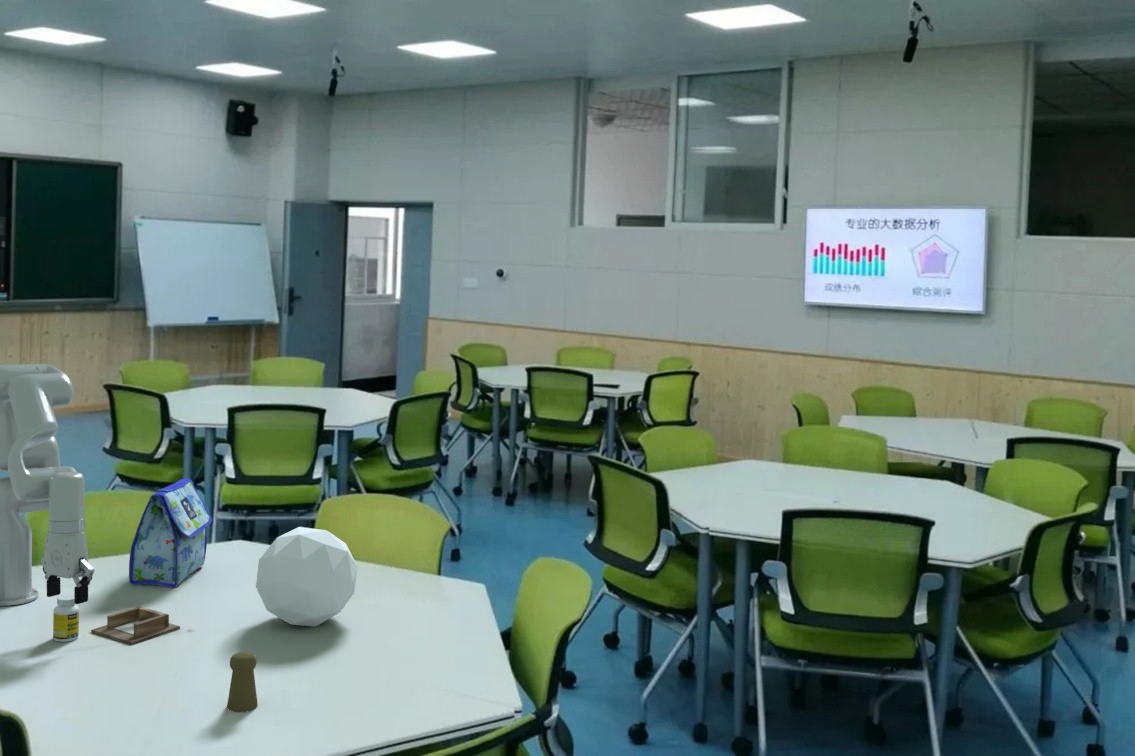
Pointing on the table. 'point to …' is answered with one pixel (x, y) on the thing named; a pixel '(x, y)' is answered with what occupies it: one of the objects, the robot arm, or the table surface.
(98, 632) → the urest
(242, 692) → the olive game pawn
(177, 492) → the lunch bag
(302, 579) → the geometric polyhedron
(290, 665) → the table surface
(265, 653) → the table surface
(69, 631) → the supplement bottle
